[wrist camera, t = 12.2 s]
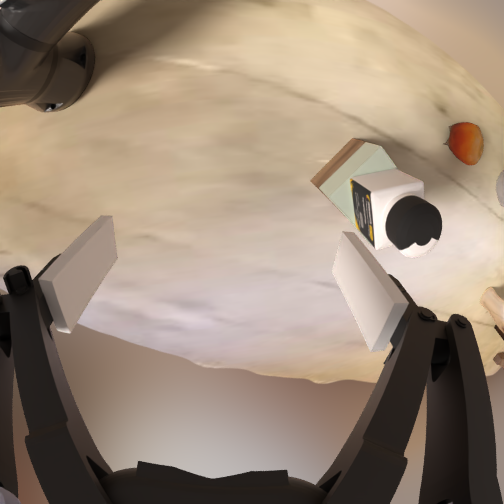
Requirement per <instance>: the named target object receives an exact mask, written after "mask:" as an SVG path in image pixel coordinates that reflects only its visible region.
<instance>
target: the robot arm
mask: <svg viewBox="0 0 504 504" xmlns="http://www.w3.org/2000/svg"><path fill="white" fill-rule="evenodd" d="M99 1H100V0H0V7H1V9H0V107H6V106H13V105H21V104H25V105H28V106H30V107H32V108H34V109H36V110H38V111H41V112H56V111H60V110H63V109H65V108H67V107H68V106H70V105H71V104H72V103H74V102H75V101H76V100H77V99H78V98H79V96H80V95H81V94H82V93H83V91H84V90H85V88H86V86H87V85H88V83H89V80H90V78H91V75H92V72H93V68H94V60H95V56H94V50H93V46H92V44H91V42H90V41H89V40H88V39H87V38H86V37H85V36H83V35H80V34H77V33H74V32H68V31H69V30H70V29H71V28H72V27H73V26H74V25H75V24H76V23H77V22H78V21H79V20H80V19H81V18H82V17H83V16H84V15H85V14H86V13H87V12H88V11H89V10H90V9H91V8H92V7H93V6H94V5H96V4H97V3H98V2H99ZM117 258H118V257H117V250H116V243H115V234H114V226H113V216H100V217H99V218H98V219H97V220H96V221H95V222H94V223H92V224H91V225H90V226H89V227H88V228H87V229H86V230H85V231H84V232H83V233H82V234H81V235H80V236H79V237H78V238H77V239H76V240H75V241H74V242H73V243H72V244H71V245H70V246H69V247H68V248H67V249H66V250H65V251H64V252H63V253H62V254H59V255H57V256H56V257H54V258H53V259H52V260H51V261H50V262H49V263H48V264H47V265H46V266H45V267H44V268H43V270H41V271H40V272H39V273H38V275H37V276H36V277H35V278H34V279H33V280H32V278H31V275H30V272H29V269H28V267H26V266H16V267H14V268H11V269H10V270H9V271H7V272H6V273H5V275H4V277H3V279H4V282H5V285H6V287H7V290H8V292H9V294H7V295H1V294H0V504H21V503H20V501H19V500H18V482H17V474H16V464H15V456H14V445H13V426H12V398H13V378H14V367H15V372H16V378H17V383H18V388H19V393H20V398H21V402H22V406H23V410H24V415H25V418H26V422H27V425H28V429H29V435H28V436H26V437H25V443H26V447H27V451H28V454H29V456H30V459H31V462H32V465H33V468H34V470H35V473H36V475H37V478H38V480H39V482H40V485H41V487H42V489H43V492H44V494H45V496H46V498H47V500H48V502H49V504H390V502H391V500H392V498H393V496H394V494H395V492H396V489H397V487H398V485H399V483H400V481H401V478H402V476H403V474H404V471H405V469H406V466H407V458H405V457H404V452H405V449H406V446H407V443H408V441H409V438H410V435H411V433H412V430H413V427H414V424H415V421H416V417H417V414H418V411H419V408H420V404H421V401H422V397H423V394H424V390H425V386H426V384H427V426H426V444H425V456H424V466H423V474H422V482H421V488H420V496H419V504H503V501H502V497H501V492H500V487H499V483H498V479H497V468H496V467H497V464H496V443H495V432H494V423H493V415H492V408H491V402H490V396H489V391H488V386H487V381H486V376H485V372H484V367H483V363H482V359H481V356H480V352H479V348H478V345H477V341H476V338H475V335H474V331H473V328H472V325H471V323H470V322H469V321H468V320H467V318H465V317H464V316H461V315H459V314H453V315H451V317H450V318H449V320H448V322H444V321H439V320H437V317H436V315H435V314H434V313H433V312H432V311H431V310H429V309H427V308H424V307H418V306H417V305H416V303H415V302H414V301H413V299H412V298H411V297H410V295H409V294H408V293H407V292H406V290H405V289H404V287H403V286H402V285H401V283H400V282H399V281H398V280H397V279H396V278H394V277H393V276H392V275H390V274H387V273H386V271H385V270H384V269H383V268H382V266H381V265H380V264H379V262H378V261H377V260H376V259H375V257H374V256H373V255H372V254H371V252H370V251H369V250H368V249H367V248H366V246H365V245H364V244H363V243H362V241H361V240H360V239H359V238H358V237H357V235H356V234H355V233H353V232H344V231H342V235H341V239H340V243H339V247H338V251H337V254H336V258H335V262H334V266H333V269H332V274H333V276H334V278H335V280H336V282H337V283H338V285H339V287H340V289H341V291H342V293H343V295H344V297H345V299H346V301H347V303H348V305H349V307H350V310H351V312H352V314H353V316H354V318H355V320H356V322H357V324H358V326H359V328H360V330H361V332H362V335H363V337H364V339H365V341H366V343H367V345H368V348H369V350H370V352H375V351H385V349H386V347H387V345H388V343H389V341H390V342H391V344H392V346H393V348H392V350H391V352H390V353H389V355H388V357H387V358H386V360H385V362H384V363H383V364H385V366H384V368H383V370H382V373H381V375H380V377H379V379H378V382H377V384H376V386H375V388H374V390H373V392H372V394H371V397H370V398H369V401H368V402H367V405H366V407H365V408H364V411H363V412H362V414H361V416H360V418H359V420H358V422H357V424H356V425H355V427H354V429H353V431H352V433H351V434H350V436H349V438H348V439H347V441H346V443H345V444H344V446H343V448H342V449H341V451H340V453H339V454H338V456H337V457H336V459H335V461H334V462H333V464H332V465H331V467H330V468H329V469H328V471H327V472H326V473H325V474H324V475H323V477H322V478H321V479H320V480H319V481H318V483H317V484H316V485H314V484H312V483H310V482H307V481H304V480H301V479H298V478H294V477H288V473H287V470H277V471H250V472H246V473H242V474H237V475H232V476H227V477H221V478H215V479H211V478H206V477H203V476H199V475H196V474H193V473H190V472H187V471H184V470H181V469H178V468H175V467H172V466H165V465H158V464H152V463H147V462H142V461H138V465H137V468H129V469H123V470H119V471H116V472H113V471H112V470H111V468H110V467H109V466H108V464H107V463H106V462H105V460H104V459H103V458H102V456H101V454H100V453H99V451H98V449H97V447H96V445H95V443H94V441H93V439H92V437H91V435H90V434H89V431H88V429H87V427H86V425H85V423H84V421H83V418H82V416H81V414H80V412H79V409H78V407H77V405H76V402H75V400H74V397H73V395H72V393H71V390H70V387H69V385H68V382H67V379H66V376H65V374H64V370H63V367H62V364H61V361H60V358H59V355H58V352H57V348H56V345H55V342H54V338H53V334H52V331H51V329H50V325H51V323H52V322H53V321H54V324H55V326H56V328H57V330H58V331H61V332H66V333H71V332H72V330H73V328H74V327H75V325H76V323H77V321H78V320H79V318H80V316H81V315H82V313H83V311H84V310H85V308H86V306H87V305H88V303H89V301H90V300H91V298H92V296H93V295H94V293H95V292H96V290H97V289H98V287H99V285H100V284H101V282H102V281H103V279H104V278H105V276H106V275H107V273H108V272H109V270H110V269H111V267H112V266H113V264H114V263H115V261H116V260H117Z"/></svg>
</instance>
